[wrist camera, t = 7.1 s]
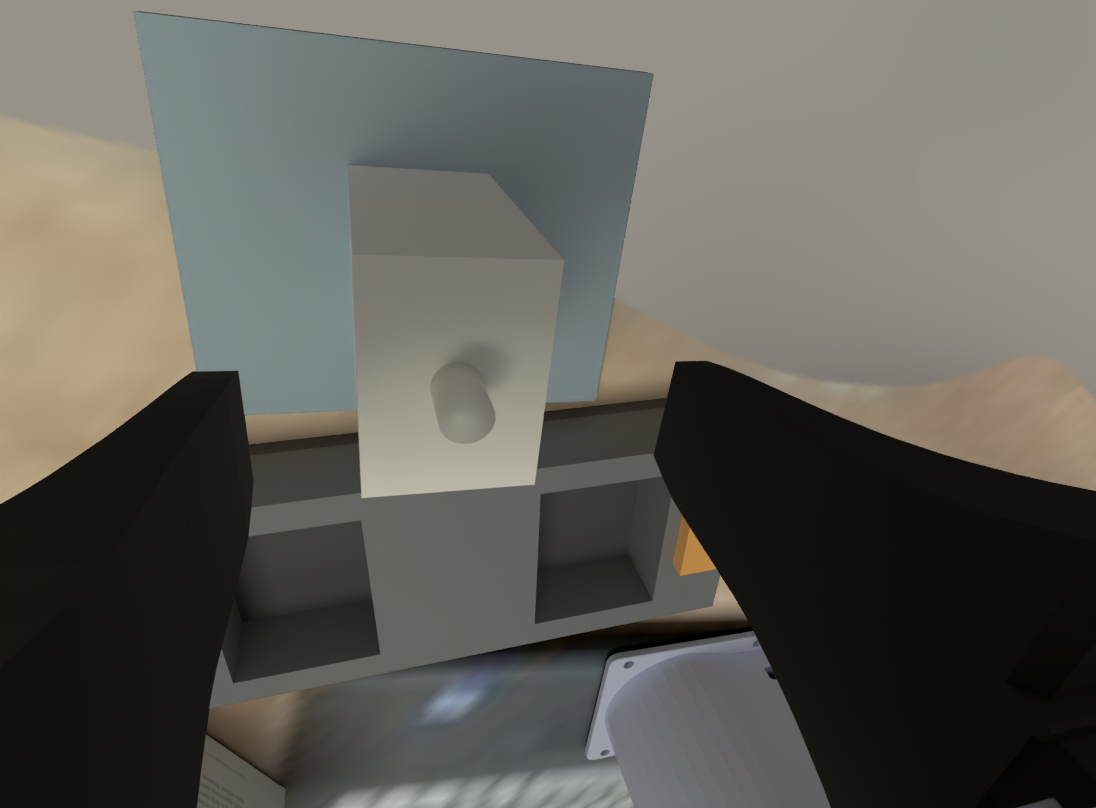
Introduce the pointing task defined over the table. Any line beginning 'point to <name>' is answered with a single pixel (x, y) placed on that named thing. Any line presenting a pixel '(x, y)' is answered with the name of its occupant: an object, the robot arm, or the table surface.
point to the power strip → (453, 557)
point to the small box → (234, 782)
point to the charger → (447, 331)
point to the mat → (382, 141)
